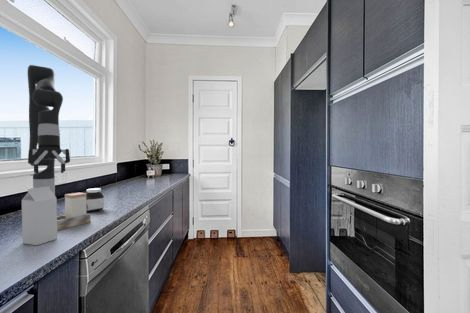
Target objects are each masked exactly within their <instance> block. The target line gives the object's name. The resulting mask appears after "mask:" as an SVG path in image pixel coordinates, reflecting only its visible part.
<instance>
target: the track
mask: <svg viewBox="0 0 470 313" xmlns="http://www.w3.org/2000/svg"><path fill="white" fill-rule="evenodd" d="M91 219H92V218H91V213H89V214H88V213H86V215H82V216H77V217H72V218H67V219H65V214H63V215H57V231H58V230H59V231H60V230H62V229H66V228H71V227H75V226H80V225H83V224H84V225H85V224H88V223H91V221H92V220H91Z"/></svg>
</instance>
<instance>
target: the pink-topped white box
mask: <svg viewBox="0 0 470 313" xmlns="http://www.w3.org/2000/svg"><path fill="white" fill-rule="evenodd" d="M86 193H87V192H71V193H65V194H64V207H65V208H64V211H65V212H64V215H65V219H67V218H72V217H77V216H82V215H87V212H86V196H87V194H86Z"/></svg>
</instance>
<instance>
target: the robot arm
mask: <svg viewBox="0 0 470 313" xmlns="http://www.w3.org/2000/svg"><path fill="white" fill-rule="evenodd" d="M27 83H28V86H27V87H28V124H29V145H28V148H29V149H28V155H27V156H28V157H27V164H29V165H30V166H32V167H33V172H34V173H33V174H32V188H40V187H48V186H50V190H51V191H52V193H53V194H54V195H55V196H56V185H55V182H56V180H55V179H56V178H55V177H56V176H55V163H56V162H55V161H56V160H57V161H58V162H59V164H60V173H61V174H64V172H65V171H66V164H69V163H70V162H71V157H70V150H69V148H66V149H61V133H60V132H61V131H60V126H59V125H60V124H59V122H60V119H59V116H60V111H61V107H62V105H63V102H64V97H63V95H62V93H61V92H60V91H57V90H56V73H55V71H54V70H53V68H51V67H45V66H40V65H35V64H29V65H28V67H27ZM51 108H52V109H51ZM61 153H63V155H64V156H65V160H64V159H63V158H62V157H61V155H60V154H61ZM45 166H46V168H44V169H43V170H41V171H39V167H45Z"/></svg>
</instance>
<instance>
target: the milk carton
mask: <svg viewBox="0 0 470 313" xmlns="http://www.w3.org/2000/svg"><path fill="white" fill-rule="evenodd" d="M57 200H58V199H57V197H56V194H55V195H54V194H53V193H52V191H51V190H50V186H48V187H40V188H33V187H32V188H28V189H27V193H26V194H25V195H24V197H23V198H22V199H21V230H22V232H21V234H22V235H21V237H22V238H21V240H22V244H25V245H26V244H27V245H32V246H39V245H42V244H45V243H47V242H51V241H54V240H57V239H58V230H57V216H58V211H57V210H58V207H57V206H58V203H57V202H58V201H57Z"/></svg>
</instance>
